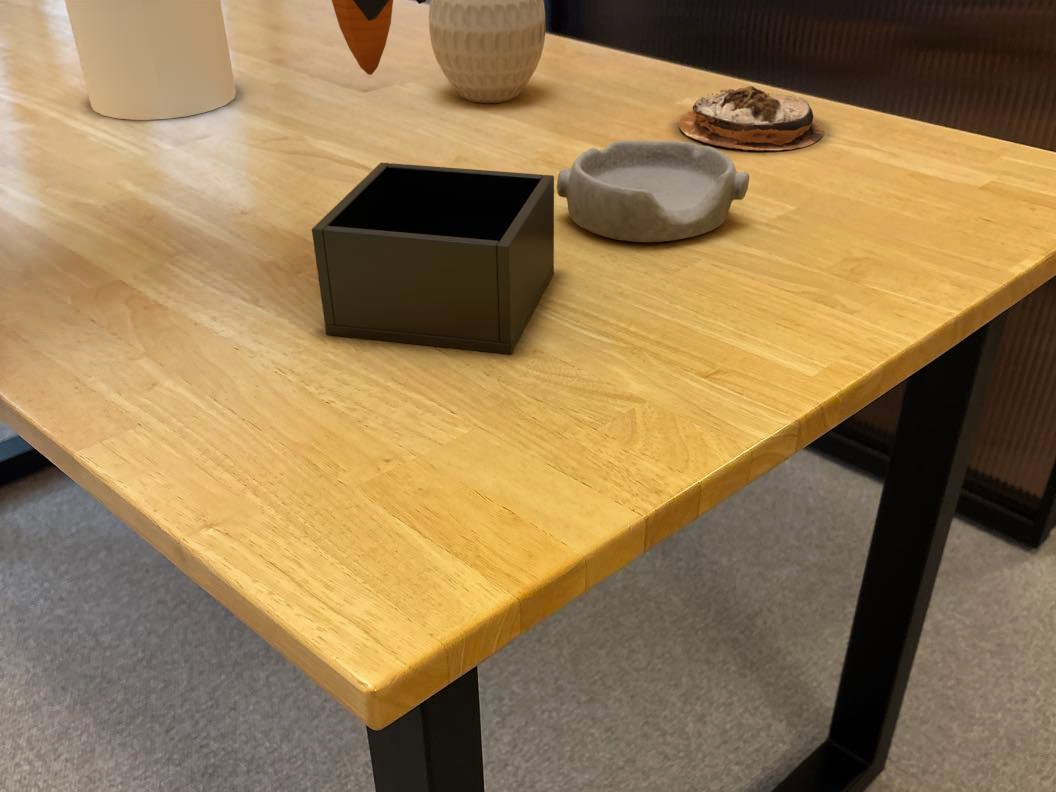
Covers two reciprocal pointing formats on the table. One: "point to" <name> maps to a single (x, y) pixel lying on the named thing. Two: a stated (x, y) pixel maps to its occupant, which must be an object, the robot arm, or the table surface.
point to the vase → (487, 45)
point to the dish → (651, 190)
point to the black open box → (437, 256)
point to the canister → (152, 56)
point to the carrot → (364, 32)
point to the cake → (752, 121)
